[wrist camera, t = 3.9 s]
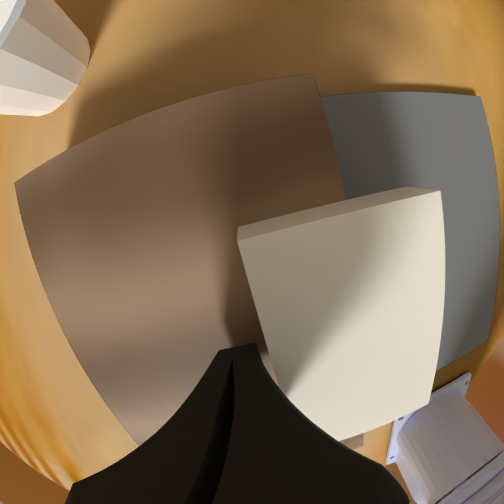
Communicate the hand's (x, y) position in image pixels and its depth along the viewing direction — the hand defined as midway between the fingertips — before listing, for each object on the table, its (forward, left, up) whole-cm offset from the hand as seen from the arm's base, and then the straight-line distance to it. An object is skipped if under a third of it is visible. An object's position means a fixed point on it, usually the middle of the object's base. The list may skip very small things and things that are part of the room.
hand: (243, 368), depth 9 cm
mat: (0, -11, -5) cm, 12 cm away
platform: (0, +1, -5) cm, 5 cm away
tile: (0, -4, 0) cm, 4 cm away
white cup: (+16, +7, -5) cm, 18 cm away
